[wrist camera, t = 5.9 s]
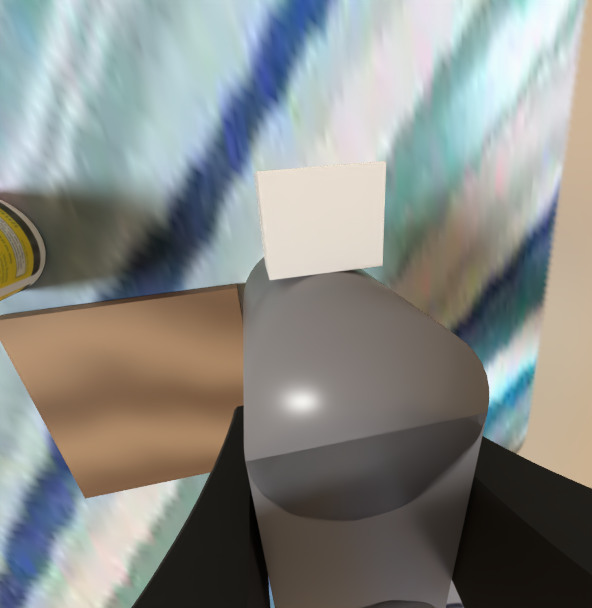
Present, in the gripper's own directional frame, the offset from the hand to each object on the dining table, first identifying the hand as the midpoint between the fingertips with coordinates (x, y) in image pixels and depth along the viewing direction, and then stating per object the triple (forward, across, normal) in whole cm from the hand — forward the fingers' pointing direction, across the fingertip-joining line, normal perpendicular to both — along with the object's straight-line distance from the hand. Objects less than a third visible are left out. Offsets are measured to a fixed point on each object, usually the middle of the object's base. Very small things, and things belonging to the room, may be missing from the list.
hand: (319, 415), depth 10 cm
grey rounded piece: (+2, 0, -1) cm, 2 cm away
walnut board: (+9, +8, +4) cm, 13 cm away
